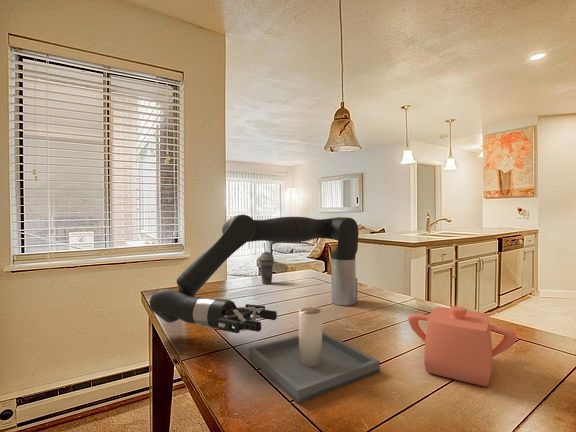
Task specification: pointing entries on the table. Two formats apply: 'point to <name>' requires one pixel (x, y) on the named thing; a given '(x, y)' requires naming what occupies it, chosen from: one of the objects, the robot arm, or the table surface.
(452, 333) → the teapot
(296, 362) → the charcoal tray
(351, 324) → the table surface
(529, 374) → the table surface
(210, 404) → the table surface
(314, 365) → the cream cup
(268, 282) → the beverage cup
